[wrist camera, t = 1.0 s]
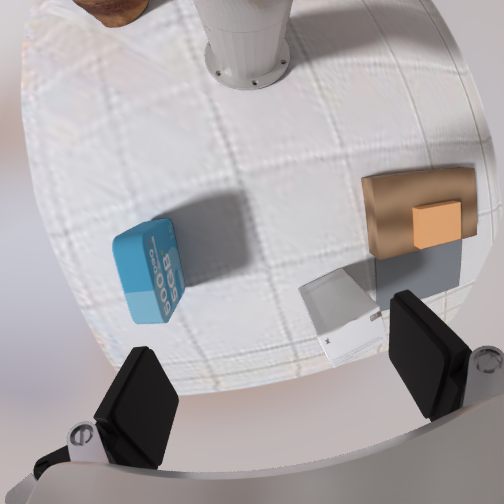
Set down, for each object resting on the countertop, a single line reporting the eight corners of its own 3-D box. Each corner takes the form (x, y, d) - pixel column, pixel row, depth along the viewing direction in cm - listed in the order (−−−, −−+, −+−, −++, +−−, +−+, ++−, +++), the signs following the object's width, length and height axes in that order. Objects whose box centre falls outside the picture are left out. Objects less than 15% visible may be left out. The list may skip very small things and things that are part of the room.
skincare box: (309, 314, 45) (329, 372, 30) (296, 285, 43) (314, 339, 29) (354, 294, 43) (390, 343, 29) (343, 263, 42) (381, 307, 28)
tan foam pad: (414, 245, 37) (420, 249, 35) (412, 207, 35) (419, 209, 33) (453, 235, 36) (460, 238, 34) (453, 200, 34) (460, 202, 33)
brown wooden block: (361, 177, 38) (371, 178, 34) (460, 167, 36) (474, 168, 33) (369, 252, 41) (379, 260, 37) (463, 230, 40) (476, 235, 36)
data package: (186, 288, 43) (165, 328, 32) (161, 291, 44) (135, 329, 32) (171, 216, 40) (141, 234, 28) (145, 220, 40) (108, 239, 29)
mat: (374, 253, 41) (375, 254, 41) (460, 233, 40) (461, 233, 40) (376, 311, 44) (377, 312, 44) (457, 285, 43) (458, 286, 43)
